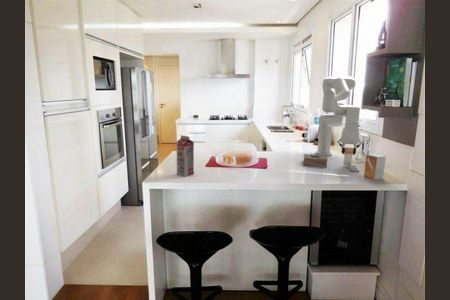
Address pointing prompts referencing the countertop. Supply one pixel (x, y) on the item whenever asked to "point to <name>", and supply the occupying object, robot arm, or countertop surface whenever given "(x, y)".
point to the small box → (374, 166)
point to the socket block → (315, 160)
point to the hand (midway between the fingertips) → (348, 154)
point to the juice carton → (185, 157)
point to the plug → (348, 156)
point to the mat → (352, 168)
